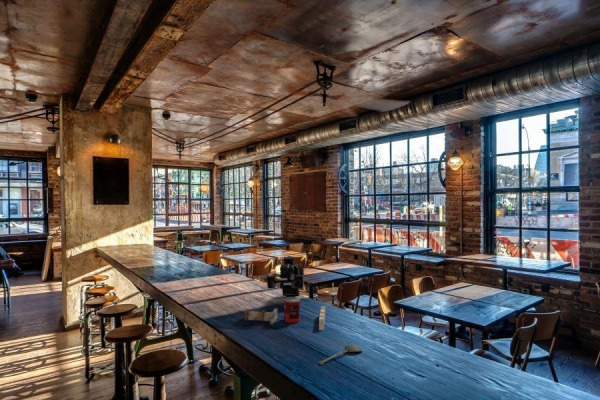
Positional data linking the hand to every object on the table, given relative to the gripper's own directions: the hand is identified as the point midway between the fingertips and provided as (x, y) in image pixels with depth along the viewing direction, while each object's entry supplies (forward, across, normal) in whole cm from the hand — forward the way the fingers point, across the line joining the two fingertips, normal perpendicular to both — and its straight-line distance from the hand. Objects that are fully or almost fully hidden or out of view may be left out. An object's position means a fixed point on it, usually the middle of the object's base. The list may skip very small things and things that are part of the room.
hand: (282, 286), depth 173 cm
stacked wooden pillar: (+1, -12, +16) cm, 20 cm away
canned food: (0, +4, +18) cm, 18 cm away
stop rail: (0, +18, +18) cm, 26 cm away
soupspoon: (+35, +29, +17) cm, 48 cm away
